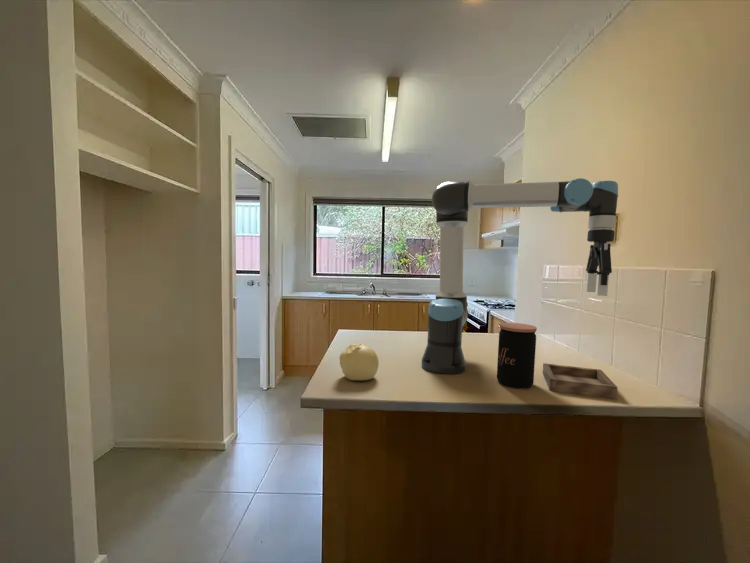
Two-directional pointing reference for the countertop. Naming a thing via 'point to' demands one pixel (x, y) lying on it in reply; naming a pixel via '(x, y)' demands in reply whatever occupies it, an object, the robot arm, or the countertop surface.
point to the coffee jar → (516, 355)
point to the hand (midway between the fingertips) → (595, 293)
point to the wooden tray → (579, 381)
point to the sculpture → (359, 362)
